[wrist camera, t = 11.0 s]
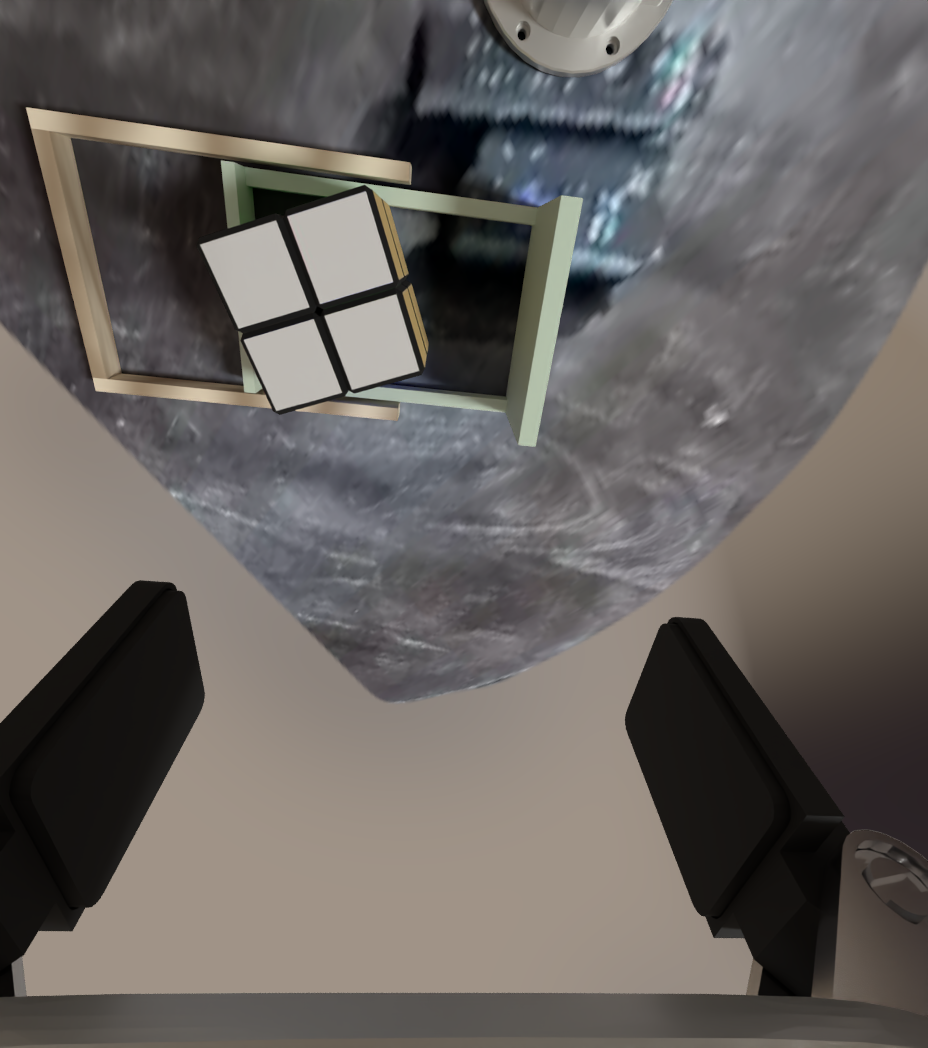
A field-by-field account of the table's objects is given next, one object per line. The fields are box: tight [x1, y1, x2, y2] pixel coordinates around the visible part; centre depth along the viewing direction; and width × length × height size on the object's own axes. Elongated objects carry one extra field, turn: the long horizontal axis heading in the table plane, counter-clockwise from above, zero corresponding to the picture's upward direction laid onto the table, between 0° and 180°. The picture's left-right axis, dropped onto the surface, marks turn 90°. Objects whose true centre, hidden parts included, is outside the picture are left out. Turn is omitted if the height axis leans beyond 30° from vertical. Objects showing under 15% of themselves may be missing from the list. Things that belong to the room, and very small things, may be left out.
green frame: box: [221, 161, 583, 447], centre depth 33 cm, size 21×14×9 cm, turn 84°
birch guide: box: [26, 107, 412, 421], centre depth 35 cm, size 23×17×2 cm
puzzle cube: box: [197, 185, 429, 415], centre depth 32 cm, size 10×10×10 cm
